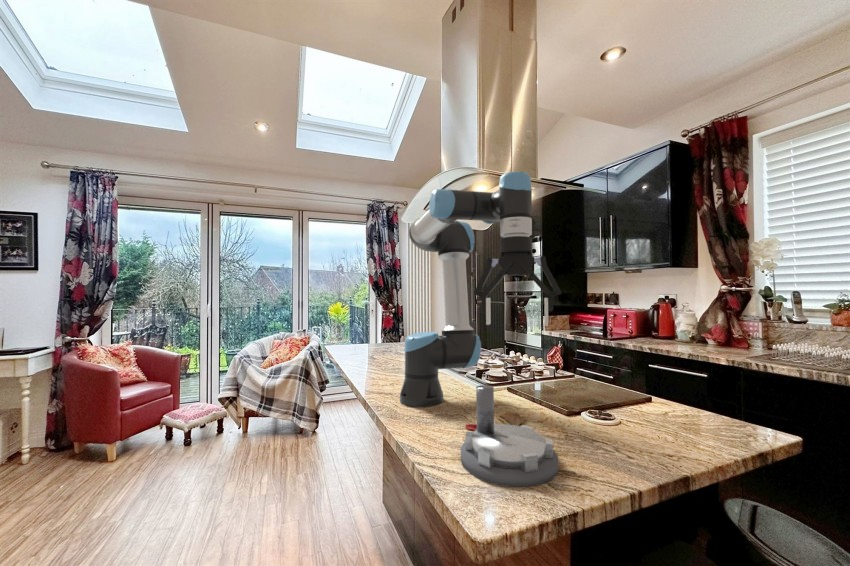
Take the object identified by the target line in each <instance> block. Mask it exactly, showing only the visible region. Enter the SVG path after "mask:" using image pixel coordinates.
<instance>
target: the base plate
mask: <svg viewBox="0 0 850 566" xmlns="http://www.w3.org/2000/svg"><path fill="white" fill-rule="evenodd" d="M460 463H461V466H462V467H463V468H464V470H465V471H467V472H468V473H469V474H470V475H472V476H474V477H476V478H478V479H479V480H481V481H484V482H487V483H491V484H494V485H497V486H498V485H499V486H504V487H510V488H511V487H513V488H514V487H515V488H529V487H535V486H540V485H543V484H546V483H549V482H551V481H552V480H554V478H556V477H557V475H558V474H559V456H558V454H557V452H556V451H555V450H554V449H553V459H552V458H546V459H545V461H544V462H543V463H541V464H540V465H538V470H537V471H531V472H524V471H523V470H522V469H508V468H501V467H496V466H493V467H491V468H487V467H485V466H482V465H480V464H478V458H477V457H475V455H474V454H473V452H472V450H465V442H463V444H462V445H461V447H460Z"/></svg>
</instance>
